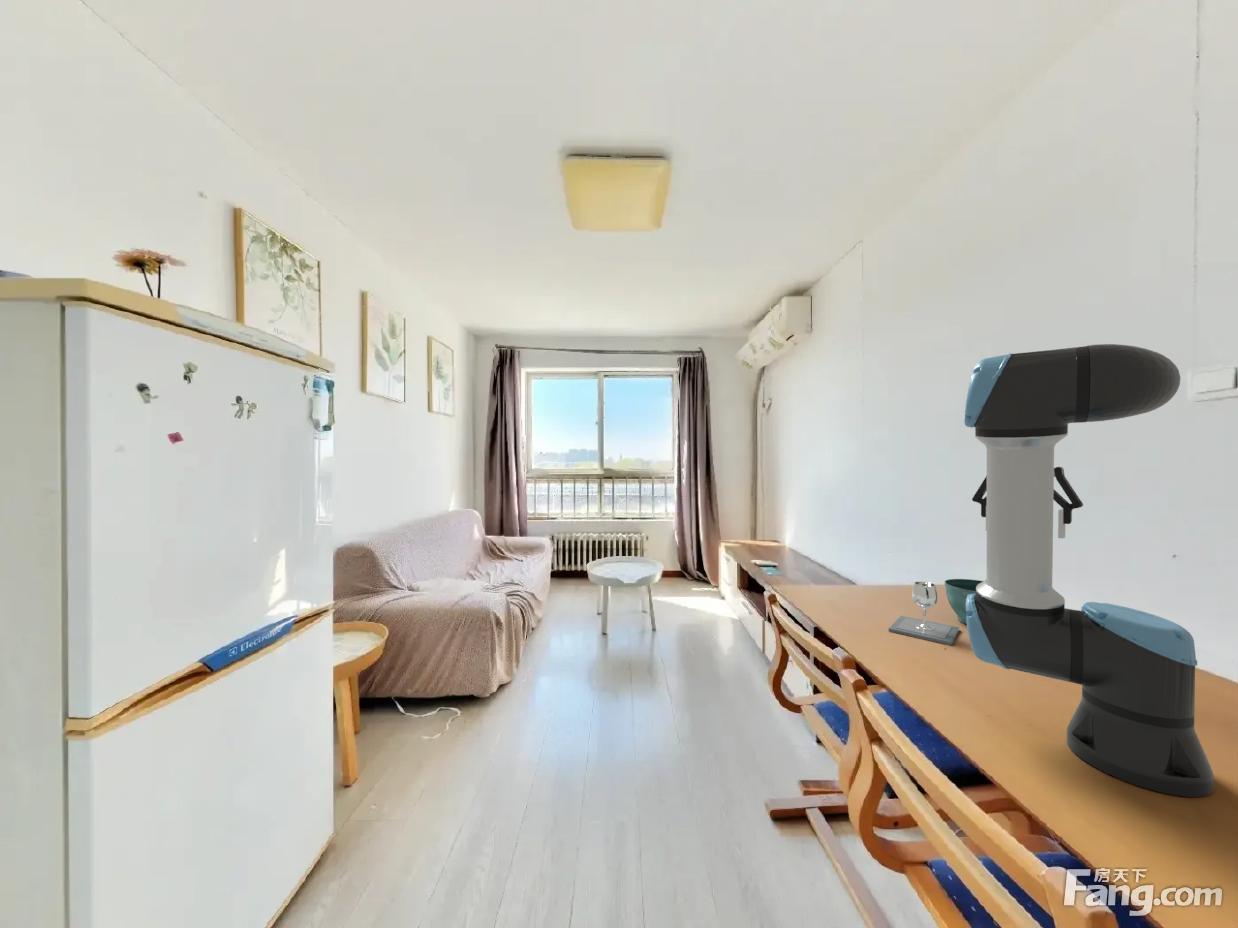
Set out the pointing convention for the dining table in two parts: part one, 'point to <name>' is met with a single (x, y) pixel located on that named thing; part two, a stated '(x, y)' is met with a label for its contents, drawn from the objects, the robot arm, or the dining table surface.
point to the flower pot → (960, 595)
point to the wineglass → (924, 600)
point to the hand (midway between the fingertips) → (1023, 534)
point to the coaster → (939, 633)
